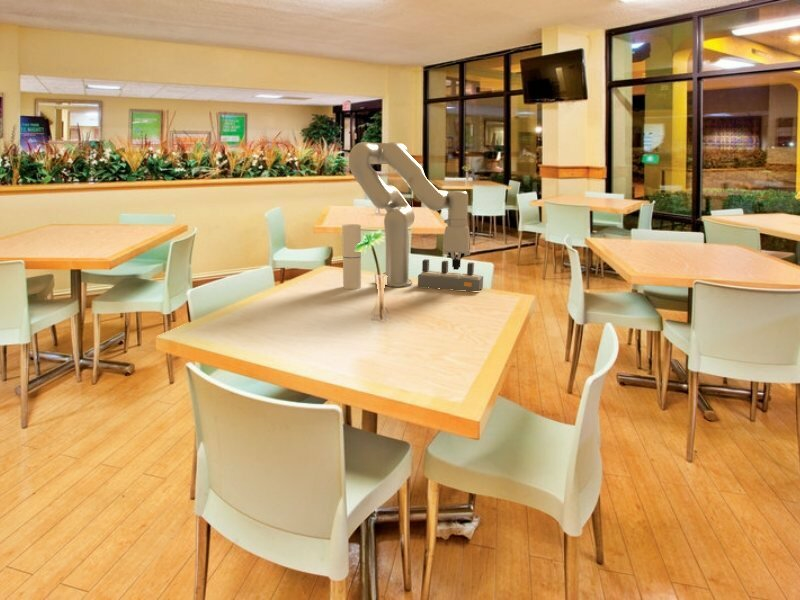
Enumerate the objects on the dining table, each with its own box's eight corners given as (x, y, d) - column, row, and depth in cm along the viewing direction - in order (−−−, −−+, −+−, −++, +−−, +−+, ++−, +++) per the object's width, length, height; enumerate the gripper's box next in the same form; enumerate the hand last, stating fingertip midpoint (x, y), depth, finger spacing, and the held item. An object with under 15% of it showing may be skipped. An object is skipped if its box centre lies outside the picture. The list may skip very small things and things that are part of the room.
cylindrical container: (345, 289, 216) (344, 226, 210) (342, 285, 223) (340, 224, 217) (362, 288, 218) (362, 226, 212) (359, 284, 225) (358, 224, 218)
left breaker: (422, 271, 221) (422, 260, 220) (424, 269, 224) (424, 259, 223) (427, 271, 221) (427, 260, 220) (429, 270, 223) (429, 259, 222)
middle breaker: (441, 272, 219) (441, 261, 218) (443, 271, 222) (443, 260, 221) (446, 273, 218) (446, 262, 217) (448, 271, 221) (448, 260, 220)
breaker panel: (417, 287, 221) (417, 272, 219) (423, 283, 228) (423, 269, 227) (478, 292, 213) (479, 277, 211) (482, 288, 221) (483, 273, 219)
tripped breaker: (467, 274, 216) (467, 263, 215) (468, 273, 218) (469, 262, 217) (472, 275, 215) (472, 264, 214) (473, 273, 218) (474, 262, 217)
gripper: (436, 223, 212) (435, 269, 217) (474, 224, 208) (472, 272, 212) (441, 221, 219) (440, 266, 224) (478, 222, 215) (476, 268, 219)
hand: (456, 269), depth 218 cm, fingers closed
